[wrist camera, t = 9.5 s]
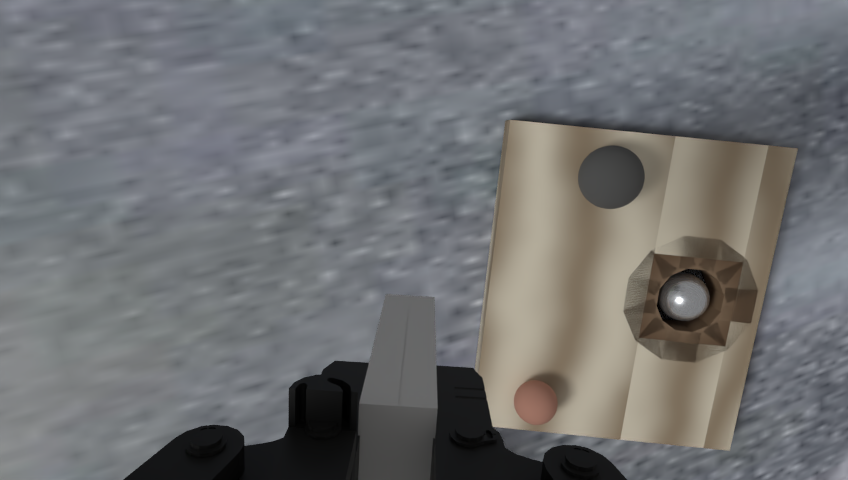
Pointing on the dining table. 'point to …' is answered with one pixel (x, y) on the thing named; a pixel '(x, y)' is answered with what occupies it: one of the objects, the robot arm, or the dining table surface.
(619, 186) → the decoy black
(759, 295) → the board
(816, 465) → the dining table surface
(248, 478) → the robot arm
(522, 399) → the pink rubber ball
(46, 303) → the dining table surface
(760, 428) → the dining table surface
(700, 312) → the steel ball
